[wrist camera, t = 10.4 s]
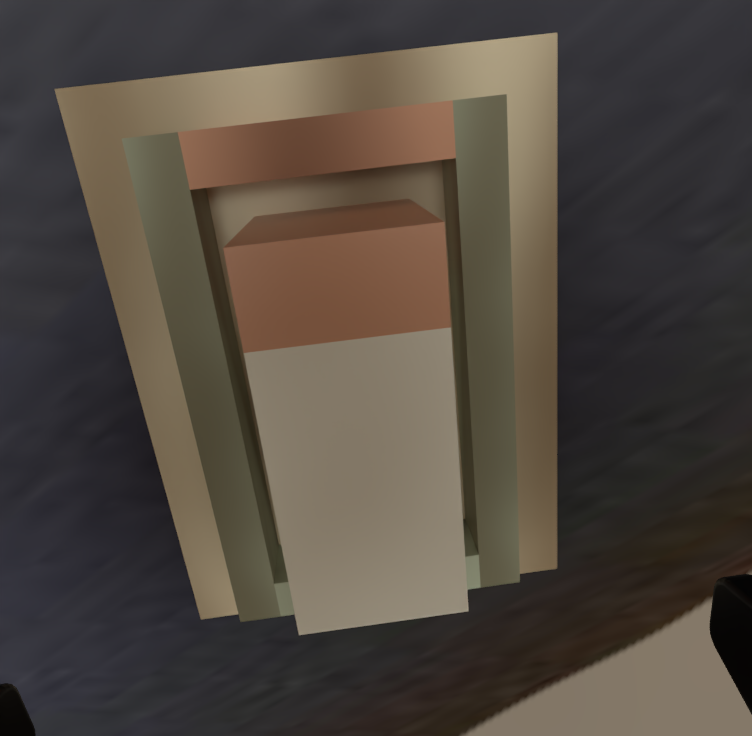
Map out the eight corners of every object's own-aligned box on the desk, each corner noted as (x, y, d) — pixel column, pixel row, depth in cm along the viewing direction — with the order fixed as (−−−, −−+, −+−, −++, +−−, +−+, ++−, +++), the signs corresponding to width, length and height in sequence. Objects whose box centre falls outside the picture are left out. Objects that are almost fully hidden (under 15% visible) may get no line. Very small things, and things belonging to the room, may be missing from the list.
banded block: (432, 494, 19) (468, 611, 14) (305, 511, 18) (298, 635, 14) (408, 198, 15) (444, 221, 11) (254, 216, 15) (222, 247, 11)
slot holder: (548, 36, 15) (588, 17, 13) (551, 556, 21) (578, 607, 18) (64, 91, 14) (17, 81, 12) (204, 606, 20) (189, 664, 18)
